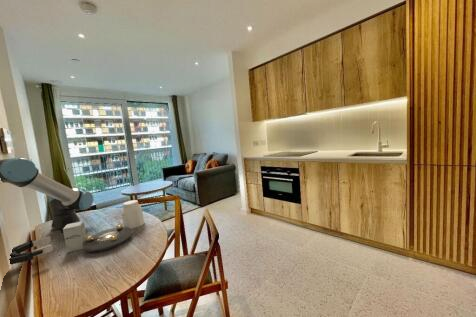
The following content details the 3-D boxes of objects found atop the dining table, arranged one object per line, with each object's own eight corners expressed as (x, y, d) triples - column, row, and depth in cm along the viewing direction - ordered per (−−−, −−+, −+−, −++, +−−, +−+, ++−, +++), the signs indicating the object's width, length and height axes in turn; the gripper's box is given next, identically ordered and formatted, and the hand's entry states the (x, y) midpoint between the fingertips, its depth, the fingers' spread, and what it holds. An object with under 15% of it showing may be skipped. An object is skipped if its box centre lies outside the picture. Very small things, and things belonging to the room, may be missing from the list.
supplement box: (66, 253, 105) (61, 229, 103) (71, 246, 112) (66, 223, 110) (84, 248, 108) (79, 225, 106) (88, 242, 114) (83, 220, 113)
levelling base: (91, 238, 118) (90, 229, 118) (134, 229, 125) (133, 220, 125) (76, 259, 98) (74, 248, 97) (128, 246, 105) (127, 236, 104)
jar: (124, 230, 125) (120, 206, 123) (123, 225, 133) (119, 202, 131) (145, 224, 131) (141, 201, 129) (143, 220, 139) (139, 198, 137)
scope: (76, 210, 128) (74, 214, 120) (81, 231, 130) (79, 237, 122) (59, 214, 124) (56, 219, 116) (64, 236, 126) (61, 242, 117)
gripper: (-9, 262, 97) (51, 242, 112) (-19, 286, 79) (55, 259, 94) (-13, 246, 96) (48, 228, 111) (-24, 268, 78) (51, 243, 93)
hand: (51, 242), depth 102 cm, fingers open, 13 cm apart
